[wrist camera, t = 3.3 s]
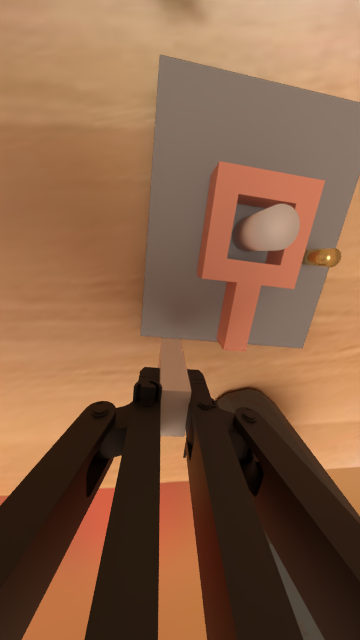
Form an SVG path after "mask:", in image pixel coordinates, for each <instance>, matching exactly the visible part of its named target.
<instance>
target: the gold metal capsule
mask: <svg viewBox="0 0 360 640" xmlns="http://www.w3.org/2000/svg"><path fill="white" fill-rule="evenodd" d="M340 259H341V253H340V251H339V250H338V249H335V248H331V249H306V250H305V253H304V256H303V260H302V263H301V265H311V266H323V267H333V266H335V265H337V264H338V263H339V261H340Z"/></svg>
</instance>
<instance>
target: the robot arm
mask: <svg viewBox="0 0 360 640" xmlns="http://www.w3.org/2000/svg"><path fill="white" fill-rule="evenodd" d="M185 430H186V436H187V437H186V443H185V449H184V456H183V458H186V456H187V465H188V474H189V482H190V492H191V500H192V509H193V518H194V527H195V535H196V545H197V553H198V562H199V571H200V580H201V588H202V598H203V606H204V615H205V624H206V633H207V640H304V639H303V636H302V634H301V631H300V628H299V625H298V623H297V620H296V617H295V615H294V612H293V609H292V606H291V604H290V601H289V598H288V595H287V593H286V590H285V587H284V584H283V582H282V579H281V576H280V573H279V571H278V568H277V565H276V562H275V560H274V557H273V554H272V551H271V549H270V546H269V543H268V540H267V538H266V535H265V532H266V534H267V536H268V538H269V540H270V541H271V543H272V545H273V547H274V549H275V551H276V552H277V554H278V556H279V558H280V560H281V561H282V563H283V565H284V567H285V569H286V571H287V572H288V574H289V576H290V578H291V580H292V581H293V583H294V585H295V587H296V589H297V590H298V592H299V594H300V596H301V598H302V600H303V601H304V603H305V605H306V607H307V609H308V610H309V612H310V614H311V616H312V618H313V620H314V621H315V623H316V625H317V627H318V629H319V630H320V632H321V634H322V636H323V638H324V639H325V640H360V523H359V522H358V521H357V520H356V519H355V518H354V517H353V516H352V515H351V513H350V512H349V511H348V510H347V509H346V508H345V507H344V506H343V505H342V504H341V502H340V501H339V500H338V499H337V498H336V497H335V496H334V495H333V494H332V493H331V492H330V490H329V489H328V488H327V487H326V486H325V485H324V484H323V483H322V482H321V481H320V479H319V478H318V477H317V476H316V475H315V474H314V473H313V472H312V471H311V470H310V468H309V467H308V466H307V465H306V464H305V463H304V462H303V461H302V460H301V459H300V458H299V456H298V455H297V454H296V453H295V452H294V451H293V450H292V449H291V448H290V447H289V445H288V444H287V443H286V442H285V441H284V440H283V439H282V438H281V437H280V436H279V434H278V433H277V432H276V431H275V430H274V429H273V428H272V427H271V426H270V425H269V424H268V422H267V421H266V420H265V419H264V418H263V417H262V416H261V415H260V414H259V413H258V412H257V411H255V410H253V409H251V408H247V407H240V408H237V409H236V411H235V413H232V412H228V411H225V410H222V409H220V408H219V406H218V404H217V402H216V401H214V400H213V399H212V398H211V396H210V393H209V390H208V387H207V385H206V382H205V379H204V376H203V374H202V373H201V372H200V371H199V370H190V369H187V368H186V363H185V358H184V353H183V348H182V344H181V339H172V338H161V347H160V357H159V367H158V368H151V367H144V368H143V369H142V370H141V371H140V375H139V380H138V382H137V383H136V384H135V385H134V393H133V401H132V402H131V403H130V404H128V405H126V406H123V407H118V408H115V406H114V405H113V404H112V403H110V402H108V401H99V402H95V403H93V404H90V405H89V406H88V407H87V408H86V409H85V410H84V411H83V412H82V413H81V414H80V416H79V417H78V418H77V419H76V420H75V421H74V422H73V424H72V425H71V426H70V427H69V428H68V429H67V430H66V432H65V433H64V434H63V435H62V436H61V437H60V438H59V440H58V441H57V442H56V443H55V444H54V445H53V446H52V448H51V449H50V450H49V451H48V452H47V453H46V454H45V455H44V457H43V458H42V459H41V460H40V461H39V462H38V463H37V465H36V466H35V467H34V468H33V469H32V470H31V471H30V473H29V474H28V475H27V476H26V477H25V478H24V479H23V481H22V482H21V483H20V484H19V485H18V486H17V487H16V489H15V490H14V491H13V492H12V493H11V494H10V495H9V496H8V498H7V499H6V500H5V501H4V502H3V503H2V505H1V506H0V640H22V638H23V636H24V634H25V632H26V630H27V628H28V626H29V624H30V622H31V620H32V618H33V616H34V614H35V612H36V610H37V608H38V606H39V604H40V602H41V600H42V598H43V596H44V594H45V593H46V591H47V589H48V587H49V585H50V583H51V581H52V579H53V577H54V575H55V573H56V571H57V569H58V567H59V565H60V563H61V561H62V559H63V557H64V555H65V553H66V551H67V550H68V548H69V546H70V544H71V542H72V540H73V538H74V536H75V534H76V532H77V530H78V528H79V526H80V524H81V522H82V520H83V518H84V516H85V514H86V512H87V510H88V508H89V506H90V504H91V502H92V500H93V499H94V496H95V495H96V493H97V491H98V489H99V487H100V485H101V483H102V481H103V479H104V477H105V475H106V473H107V471H108V469H109V467H110V465H111V463H112V461H113V458H114V457H117V456H120V455H122V458H121V463H120V468H119V473H118V478H117V482H116V487H115V492H114V497H113V502H112V507H111V512H110V517H109V523H108V527H107V532H106V537H105V542H104V546H103V551H102V556H101V562H100V566H99V571H98V576H97V581H96V586H95V591H94V596H93V601H92V605H91V611H90V615H89V621H88V625H87V630H86V635H85V640H158V584H159V583H158V582H159V579H158V578H159V504H160V436H180V437H184V436H185ZM264 531H265V532H264Z"/></svg>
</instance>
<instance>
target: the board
mask: <svg viewBox="0 0 360 640" xmlns="http://www.w3.org/2000/svg"><path fill="white" fill-rule="evenodd" d="M219 161H222V162H227V163H233V164H238V165H243V166H249V167H254V168H260V169H265V170H270V171H276V172H281V173H287V174H292V175H297V176H303V177H308V178H314V179H319V180H324V181H325V183H324V187H323V190H322V194H321V197H320V201H319V204H318V208H317V211H316V215H315V218H314V222H313V225H312V229H311V232H310V236H309V239H308V243H307V246H306V249H331V248H336V245H337V242H338V239H339V236H340V233H341V230H342V227H343V224H344V221H345V218H346V215H347V212H348V208H349V205H350V202H351V199H352V196H353V193H354V190H355V187H356V184H357V181H358V178H359V175H360V102H356V101H352V100H348V99H344V98H339V97H335V96H331V95H327V94H323V93H319V92H314V91H310V90H306V89H302V88H298V87H294V86H289V85H285V84H281V83H277V82H273V81H268V80H264V79H260V78H256V77H252V76H248V75H243V74H239V73H235V72H231V71H227V70H222V69H218V68H214V67H210V66H206V65H202V64H197V63H193V62H189V61H185V60H181V59H177V58H172V57H168V56H164V55H160V60H159V74H158V89H157V103H156V118H155V132H154V147H153V162H152V176H151V191H150V205H149V220H148V235H147V249H146V264H145V278H144V293H143V308H142V322H141V336H151V337H163V338H176V339H189V340H201V341H214V342H218V340H217V339H216V337H217V332H218V327H219V321H220V316H221V311H222V305H223V300H224V295H225V289H226V284H227V281H219V280H210V279H202V278H200V277H199V276H197V269H198V262H199V255H200V248H201V241H202V234H203V227H204V220H205V213H206V206H207V199H208V192H209V185H210V177H211V174H212V172H213V171H214V169H215V167H216V166H217V164H218V163H219ZM299 228H300V220H299V216H298V213H297V212H296V210H295V209H294V208H293V207H291V206H290V205H287V204H277V205H274V206H272V207H269V208H261V207H254V206H248V205H242V204H237V205H236V211H235V216H234V222H233V227H232V233H231V238H230V244H229V249H228V255H227V259H233V260H241V261H248V262H256V263H264V264H265V262H266V258H267V254H268V251H278V250H282V249H285V248H287V247H288V246H290V245H291V244H292V243H293V242H294V240H295V239H296V237H297V235H298V232H299ZM328 270H329V267H323V266H311V265H301V267H300V270H299V274H298V277H297V281H296V284H295V288H294V289H289V288H280V287H271V286H263V285H261V288H260V293H259V297H258V301H257V305H256V309H255V314H254V318H253V322H252V326H251V330H250V335H249V339H248V343H247V344H252V345H265V346H278V347H290V348H303V346H304V343H305V340H306V337H307V334H308V331H309V328H310V324H311V321H312V318H313V315H314V312H315V309H316V306H317V303H318V300H319V297H320V294H321V291H322V288H323V285H324V282H325V279H326V276H327V273H328Z"/></svg>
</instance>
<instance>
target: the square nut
mask: <svg viewBox="0 0 360 640" xmlns="http://www.w3.org/2000/svg"><path fill="white" fill-rule="evenodd" d="M324 183H325V181H324V180H319V179H314V178H308V177H303V176H297V175H292V174H287V173H281V172H276V171H270V170H265V169H260V168H254V167H249V166H243V165H238V164H233V163H227V162H222V161H219V163H218V164H217V166H216V167H215V169H214V171H213V172H212V174H211V177H210V185H209V192H208V199H207V206H206V213H205V220H204V227H203V234H202V241H201V248H200V255H199V262H198V269H197V276H199V277H200V278H202V279H210V280H219V281H227V284H226V289H225V295H224V300H223V305H222V311H221V316H220V321H219V327H218V332H217V337H216V339H217V340H218V342H219V344H220V345H221V347H222V348H223V350H232V351H246V347H247V343H248V339H249V335H250V330H251V326H252V322H253V318H254V314H255V309H256V305H257V301H258V297H259V293H260V288H261V285H263V286H271V287H280V288H289V289H294V288H295V284H296V281H297V277H298V274H299V270H300V267H301V263H302V260H303V256H304V253H305V250H306V246H307V243H308V239H309V236H310V232H311V229H312V225H313V222H314V218H315V215H316V211H317V208H318V204H319V201H320V197H321V194H322V190H323V187H324ZM237 204H242V205H248V206H254V207H261V208H269V207H272V206H274V205H277V204H287V205H290V206H291V207H293V208H294V209H295V210H296V212H297V213H298V216H299V220H300V228H299V232H298V235H297V237H296V239H295V240H294V242H293V243H292V244H291V245H290V246H288V247H287V248H285V249H282V250H278V251H268V254H267V258H266V262H265V264H264V263H256V262H248V261H241V260H233V259H227V255H228V249H229V244H230V238H231V233H232V227H233V222H234V216H235V211H236V205H237Z"/></svg>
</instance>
